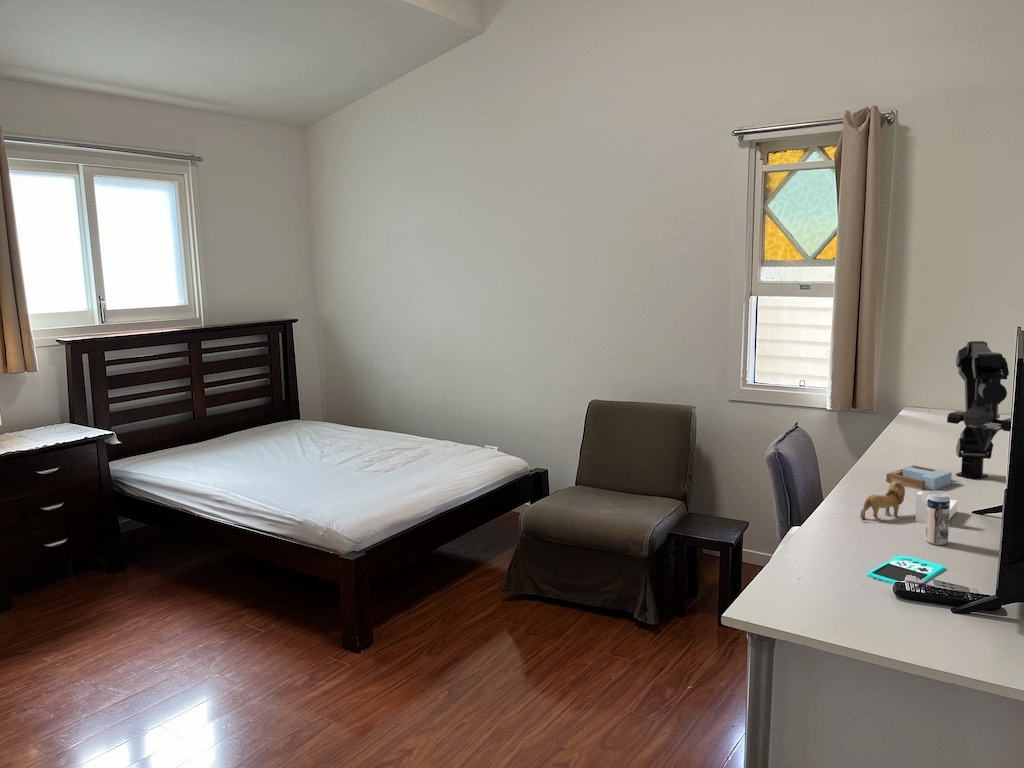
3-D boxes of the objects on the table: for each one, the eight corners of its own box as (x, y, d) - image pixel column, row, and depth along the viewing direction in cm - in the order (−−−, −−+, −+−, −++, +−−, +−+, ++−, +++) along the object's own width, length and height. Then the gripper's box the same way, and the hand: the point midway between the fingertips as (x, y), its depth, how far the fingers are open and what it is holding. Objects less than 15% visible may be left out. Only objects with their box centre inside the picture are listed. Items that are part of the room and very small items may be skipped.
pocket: (913, 472, 238) (913, 465, 238) (948, 480, 229) (949, 472, 228) (886, 481, 230) (886, 474, 230) (922, 489, 221) (922, 481, 220)
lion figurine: (892, 510, 205) (893, 478, 204) (909, 515, 200) (911, 483, 199) (853, 519, 199) (854, 487, 197) (871, 525, 194) (872, 492, 193)
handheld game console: (946, 571, 166) (946, 565, 166) (912, 593, 156) (913, 586, 156) (899, 558, 174) (900, 553, 173) (865, 578, 164) (865, 572, 164)
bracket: (945, 527, 191) (947, 498, 190) (915, 521, 196) (916, 494, 195) (957, 513, 201) (958, 486, 200) (927, 508, 206) (928, 482, 204)
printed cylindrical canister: (939, 547, 178) (942, 499, 176) (920, 541, 182) (922, 493, 180) (952, 543, 180) (954, 495, 178) (933, 537, 184) (935, 490, 182)
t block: (914, 476, 235) (915, 465, 234) (951, 483, 226) (951, 472, 225) (896, 482, 229) (897, 471, 229) (933, 490, 220) (933, 478, 220)
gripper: (938, 396, 217) (935, 449, 219) (1008, 405, 201) (1005, 461, 204) (958, 392, 223) (955, 443, 225) (1028, 399, 207) (1024, 454, 210)
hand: (983, 450), depth 216 cm, fingers closed
